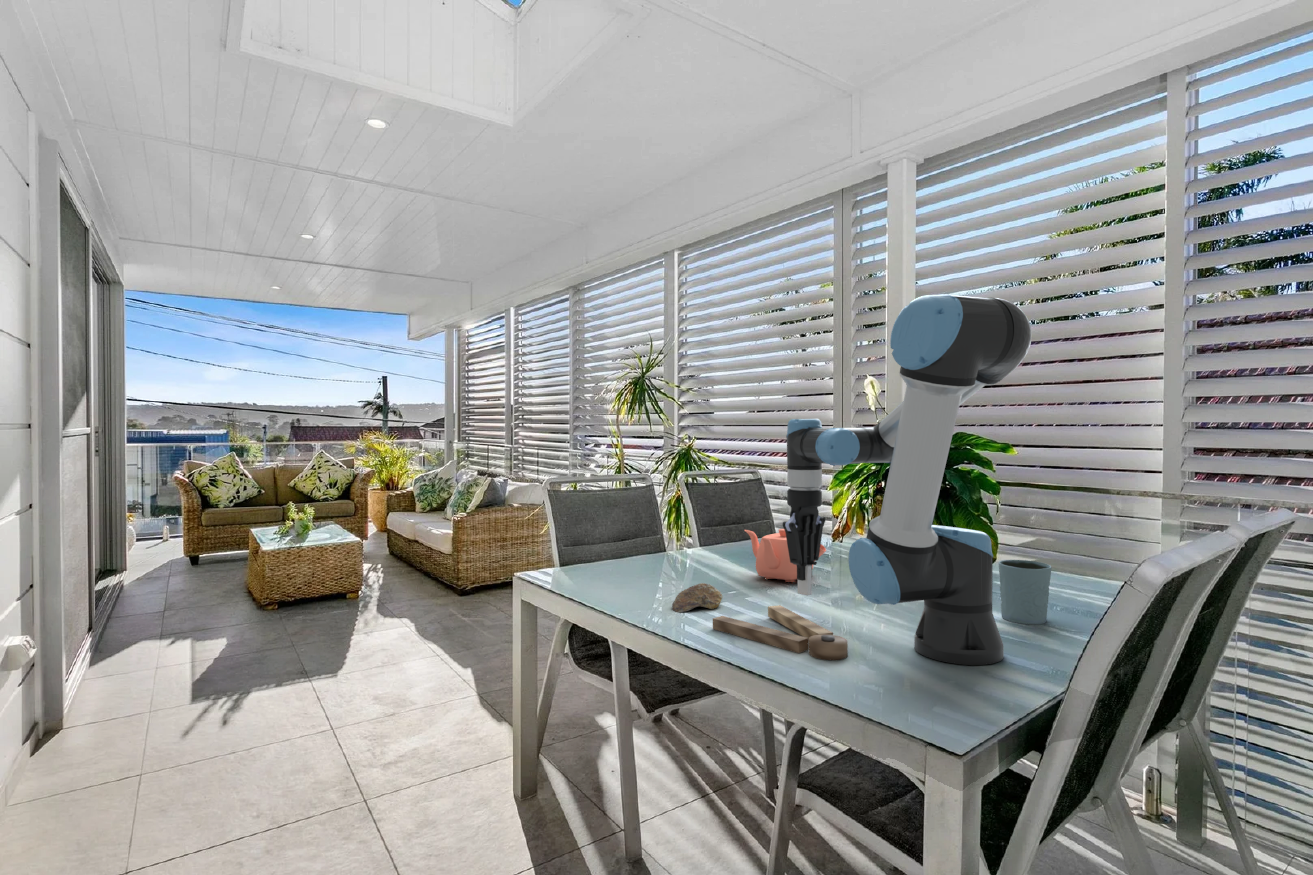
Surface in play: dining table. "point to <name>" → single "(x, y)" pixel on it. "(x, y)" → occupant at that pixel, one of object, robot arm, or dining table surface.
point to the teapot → (775, 556)
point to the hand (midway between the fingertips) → (804, 593)
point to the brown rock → (697, 598)
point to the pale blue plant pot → (1024, 591)
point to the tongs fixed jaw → (786, 639)
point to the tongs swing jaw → (796, 622)
